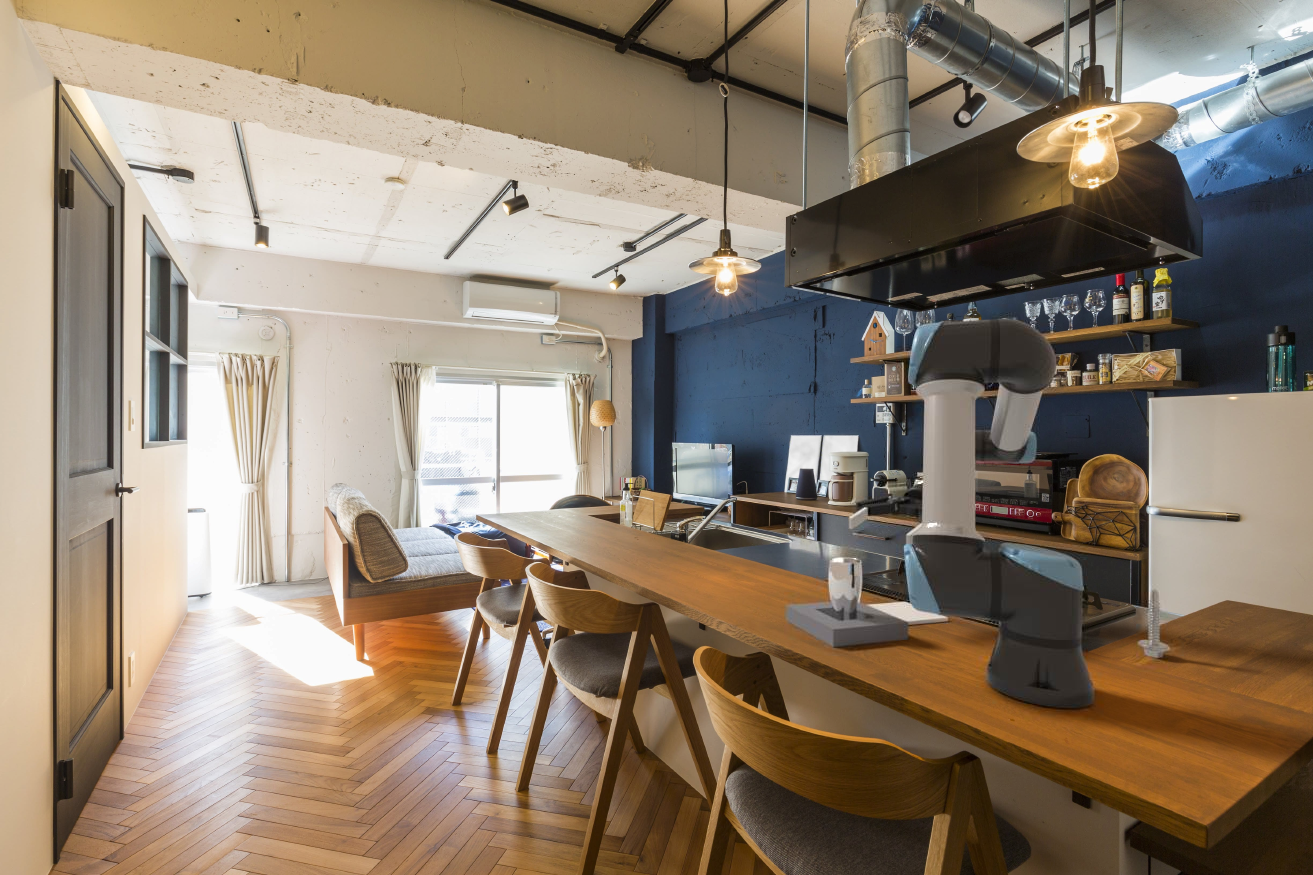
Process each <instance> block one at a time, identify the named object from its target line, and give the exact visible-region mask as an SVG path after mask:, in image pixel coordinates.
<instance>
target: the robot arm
mask: <svg viewBox="0 0 1313 875" xmlns="http://www.w3.org/2000/svg"><path fill="white" fill-rule="evenodd" d="M1055 354H1056V353H1055V351H1054V349H1053V346H1052V345H1051V343H1050V342H1049V340H1048V339H1047V337H1045V335H1044V334H1042V333H1041V332H1040V331H1039V330H1038V329H1036V328H1035V327H1033V326H1032V325H1030V324H1028V323H1026V322H1023V321H1021V320H1017V319H1013V318H996V319H979V320H962V321H944V320H943V321H939V322H932V323H924V324H921V325H920V326H918V328H917V329H916V330H915V333H914V336H913V339H912V345H911V351H910V357H909V358H910V359H909V366H908V373H907V374H908V376H907V378H908V384H911V385H912V386H915V393H916V394H917V396H919V397H920V398H922V400H923V401H924V410H923V412H924V413H923V423H924V424H923V455H922V456H923V457H922V458H923V459H922V460H923V463H922V464H923V465H922V466H923V467H922V479H921V480H919V482H917V483H916V484H914V485H913V486H912V487H910V488H908V489H907V490H906V491H905V493H904V494H903V495H902V496H900V497H897V498H896V497H893V494H892V493H887V494H885V495H883V496H879V497H878V496H877V497H875V498H870V499H865V500H860V501H857V502H856V503H855V505H856V506H855V509H856V510H855V511H854V512H853V513H852V515H849V517H848V529H849V530H853V529H855V528H856V527H857V526H859V525H861V524H862V523H863V522H865V521H867V520H868V519H869V517H872V516H873V517H875V516H883V515H892V516H897V515H903V516H908V517H910V518H916V521H917V522H918V523H919V524H918V525H916V526H915V527H913V529H912V530H910V531H909V532H908V533H907V534H906V535H905V544H904V545H903V553H904V565H905V573H906V582H907V591H908V597H909V603H910V604H911V605H912V606H913V607H914V608H915V609H916V610H918V611H922V612H928V613H934V614H937V615H942V616H946V617H957V618H964V619H965V618H966V619H973V620H983V621H991V622H998V636H997V639H996V642H995V645H994V647H993V649H992V652H991V655H990V659H989V661H988V662H987V664H986V669H985V672H986V673H985V674H986V675H985V680H986V682H987V684H988V685H989V686H990V687H991V688H992V689H994V690H996V691H997V692H999V693H1001V694H1003V695H1005V696H1008V697H1010V698H1013V699H1016V700H1018V701H1019V700H1020V701H1022V702H1026V703H1029V704H1033V705H1037V706H1044V707H1048V708H1049V707H1050V708H1056V709H1057V708H1059V709H1082V708H1086V707H1089V706H1092V704H1094V702H1095V686H1094V683H1093V680H1091V675H1090V673H1089V669H1088V666H1087V663H1086V662H1087V661H1086V660H1085V657H1084V655H1083V654H1084V653H1083V650H1082V636H1083V634H1082V633H1083V631H1082V630H1083V629H1082V628H1083V627H1082V626H1083V591H1085V587H1084V582H1083V581H1084V580H1083V570H1082V569H1083V568H1082V565H1081V564H1080V563H1079V561H1078V560H1077V559H1075V558H1073V557H1072V556H1070V555H1068V554H1065V553H1062V552H1059V551H1055V550H1051V549H1048V548H1043V547H1038V546H1033V545H1029V544H1022V543H1013V542H1003V543H1001V544H1000V547H998V551H996V550H995V551H993V550H986V540H985V537H983V535H981V534H980V533H979V532H978V531H977V529H976V463H994V464H995V463H997V464H1000V463H1001V464H1014V465H1017V464H1030V463H1033V462H1034V461H1035V460H1036V457H1037V456H1036V455H1037V454H1036V453H1037V445H1038V444H1037V437H1036V436H1037V435H1036V434H1035V432H1033V431H1031V430H1032V429H1033V428H1032V427H1033V424H1034V420H1035V417H1036V414H1037V412H1038V409H1039V405H1040V401H1041V398H1042V396H1043V395H1042V394H1043V392H1044V391H1045V390H1046V389H1047V388H1048V387H1049V386H1050V385H1051V383H1053V380H1054V377H1055V375H1056V374H1055V373H1056V371H1057V370H1056V369H1057V358H1056V355H1055ZM989 383H990V384H991V383H993V384H994V383H995V384H996V383H998V384H999V386H998V392H997V396H996V402H995V407H994V412H993V413H994V414H993V418H992V423H991V429H990V430H983V429H980V430H976V400H977V399H978V398H979V397H980V396H981V395H982V394H984V392H985V387H986V386H985V384H989Z"/></svg>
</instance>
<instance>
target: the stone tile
mask: <svg viewBox="0 0 1313 875" xmlns="http://www.w3.org/2000/svg"><path fill="white" fill-rule="evenodd" d="M867 605H868V606H870V607H873V608H875V609H878V610H880V611H882V612H885V613H887V614H890V615H892V616H895V617H897V618H899V619H902V620H904V621H907V622H908V626H911V625H912V626H914V625H921V624H922V625H924V624H933V623H942V622H949V616H946V615H937V614H934V613H928V612H922V611H918V610H916V609H915V608H914V607H913V606H912V605H911V603H910V602H907V601H898V602H897V601H895V602H886V603H872V604H871V603H870V604H867Z"/></svg>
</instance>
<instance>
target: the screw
mask: <svg viewBox="0 0 1313 875" xmlns="http://www.w3.org/2000/svg"><path fill="white" fill-rule="evenodd" d="M1159 597H1160V596H1159V592H1158V590H1157V589H1156V588H1153V589H1151V591H1150V595H1149V602H1148V608H1149V609H1148V624H1147V626H1148V627H1147V629H1148V631H1147V635H1148V636H1147V638H1148V639H1140V640H1139V641H1137V645H1138V646H1139V647H1142V649H1144V650H1143V654H1144V655H1146V656H1147V657H1149V658H1155V659H1160V658H1163V656H1164V652H1168V651H1170V650H1171V648H1170V646H1169V645H1168V644H1166V643H1164V642H1161V640H1160V638H1161V637H1160V636H1161V633H1160V632H1161V628H1160V627H1161V625H1160V623H1161V618H1160V617H1161V612H1160V611H1161V606H1160V605H1161V603H1160V600H1159V599H1160V598H1159Z"/></svg>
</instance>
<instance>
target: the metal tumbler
mask: <svg viewBox="0 0 1313 875" xmlns="http://www.w3.org/2000/svg"><path fill="white" fill-rule="evenodd" d="M862 566H863V565H862V560H861V559H858V558H854V557H848V556H847V557H846V556H834V557H831V558H829V564H828V578H827V579H828V583H827V584H828V591H829V592H828V593H829V599H830V602H831V606H832V618H834V619H836V620H838V621H844V620H855V619H858V617H857V614H858V606H859V602H861V600H860V599H861V594H862V589H863V567H862Z"/></svg>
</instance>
